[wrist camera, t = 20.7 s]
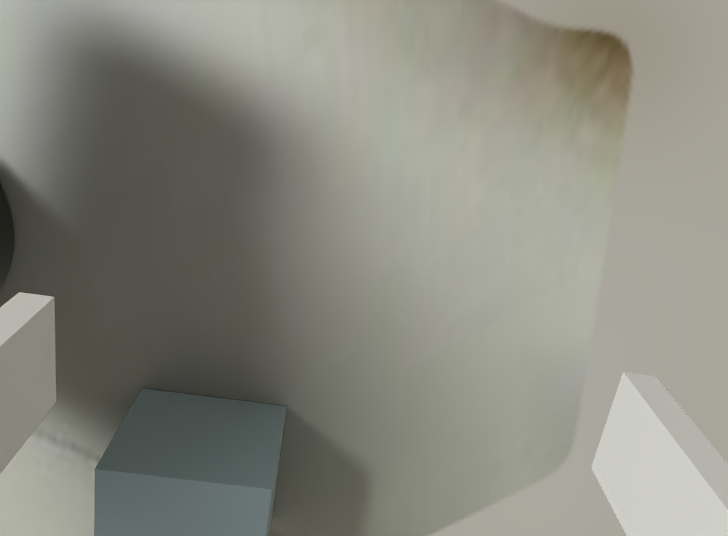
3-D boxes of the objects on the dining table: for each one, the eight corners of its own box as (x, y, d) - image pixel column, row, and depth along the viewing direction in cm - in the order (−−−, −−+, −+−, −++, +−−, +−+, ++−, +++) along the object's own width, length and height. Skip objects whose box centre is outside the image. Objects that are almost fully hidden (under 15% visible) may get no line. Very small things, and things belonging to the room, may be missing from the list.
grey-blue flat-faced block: (137, 503, 49) (93, 600, 41) (141, 388, 46) (94, 469, 37) (272, 519, 50) (255, 617, 42) (286, 406, 46) (271, 489, 38)
